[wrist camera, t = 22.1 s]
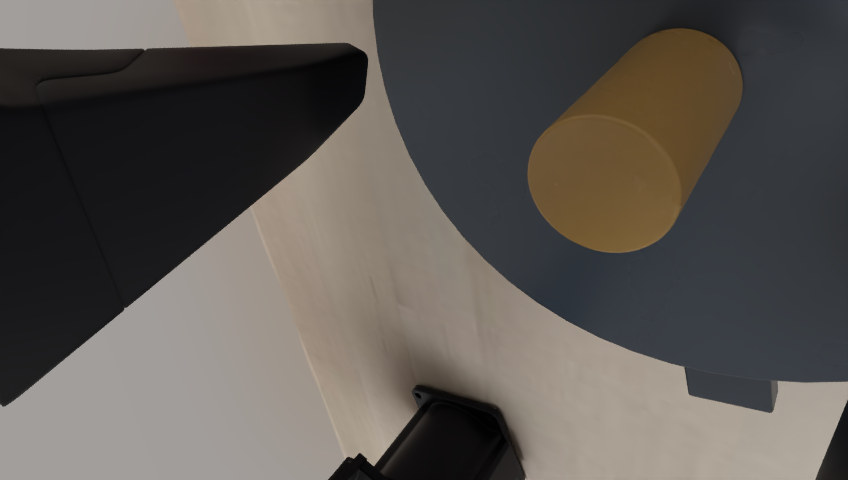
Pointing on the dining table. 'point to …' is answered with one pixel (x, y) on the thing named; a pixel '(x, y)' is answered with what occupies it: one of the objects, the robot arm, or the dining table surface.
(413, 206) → the dining table surface
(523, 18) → the pot lid
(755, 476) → the dining table surface
